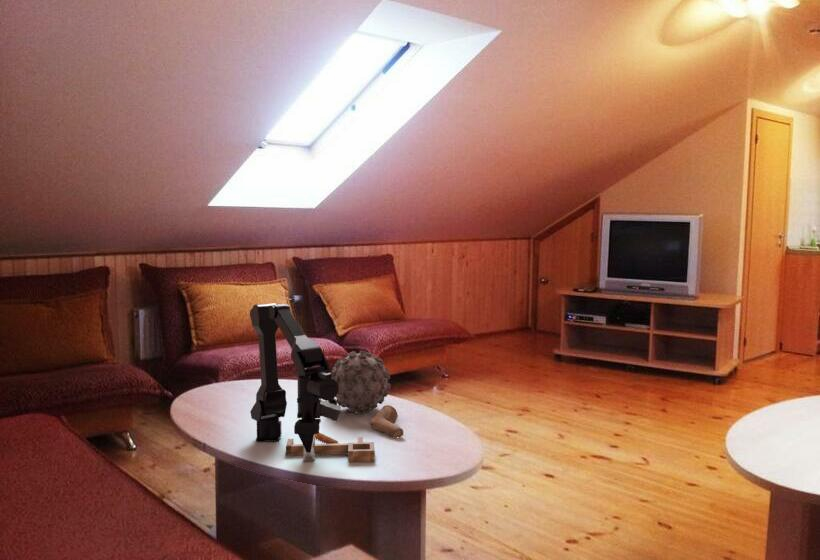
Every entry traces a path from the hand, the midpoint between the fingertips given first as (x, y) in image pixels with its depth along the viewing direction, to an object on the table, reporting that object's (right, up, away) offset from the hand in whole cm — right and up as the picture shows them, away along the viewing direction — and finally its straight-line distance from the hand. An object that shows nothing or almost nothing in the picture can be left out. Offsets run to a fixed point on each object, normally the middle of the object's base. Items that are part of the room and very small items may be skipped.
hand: (308, 450), depth 191 cm
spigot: (0, -3, 0) cm, 2 cm away
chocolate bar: (+3, -2, +16) cm, 16 cm away
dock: (+5, -2, +5) cm, 7 cm away
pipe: (+21, -1, +27) cm, 34 cm away
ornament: (+10, +1, +47) cm, 48 cm away
